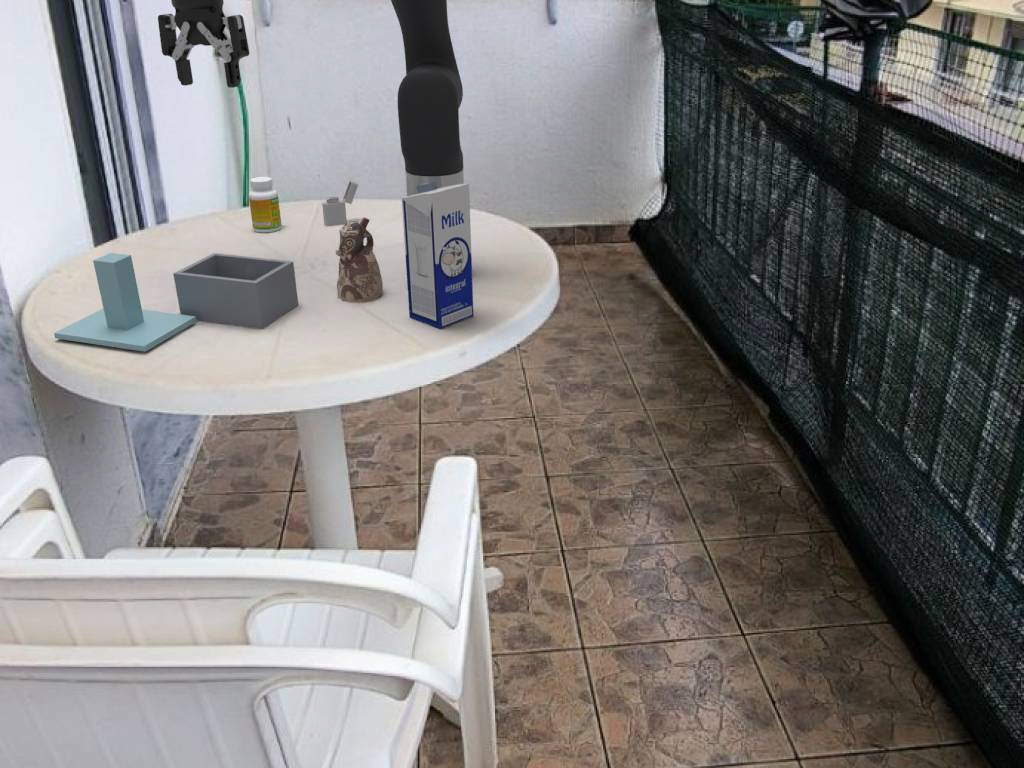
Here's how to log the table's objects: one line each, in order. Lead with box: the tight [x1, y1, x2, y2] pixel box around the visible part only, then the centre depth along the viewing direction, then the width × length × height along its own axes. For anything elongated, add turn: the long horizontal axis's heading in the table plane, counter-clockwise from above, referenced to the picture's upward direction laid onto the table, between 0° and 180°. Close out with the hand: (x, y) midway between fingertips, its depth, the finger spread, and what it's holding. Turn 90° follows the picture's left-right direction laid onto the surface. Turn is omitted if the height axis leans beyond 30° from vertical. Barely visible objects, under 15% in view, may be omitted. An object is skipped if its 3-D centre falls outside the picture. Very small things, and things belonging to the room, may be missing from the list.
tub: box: [173, 252, 299, 330], centre depth 141 cm, size 14×10×7 cm
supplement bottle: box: [248, 176, 282, 234], centre depth 179 cm, size 5×5×10 cm
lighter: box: [321, 180, 359, 227], centre depth 183 cm, size 7×2×8 cm, turn 116°
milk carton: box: [400, 181, 474, 330], centre depth 135 cm, size 7×7×20 cm
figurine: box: [335, 217, 384, 303], centre depth 146 cm, size 7×7×12 cm
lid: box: [53, 252, 197, 352], centre depth 133 cm, size 15×11×11 cm
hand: (210, 85), depth 147 cm, fingers open, 8 cm apart
